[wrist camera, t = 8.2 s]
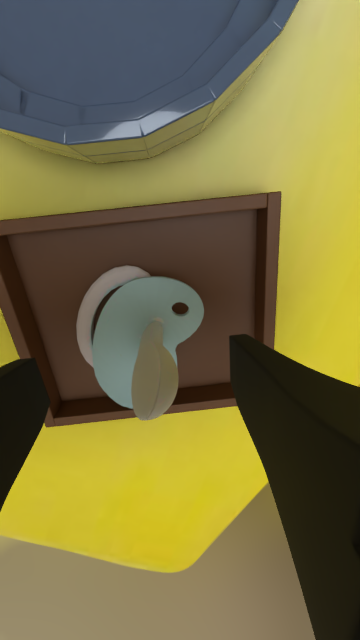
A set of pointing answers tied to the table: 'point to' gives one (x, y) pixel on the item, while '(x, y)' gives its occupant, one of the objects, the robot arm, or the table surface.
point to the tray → (158, 260)
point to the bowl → (126, 70)
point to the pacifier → (137, 336)
